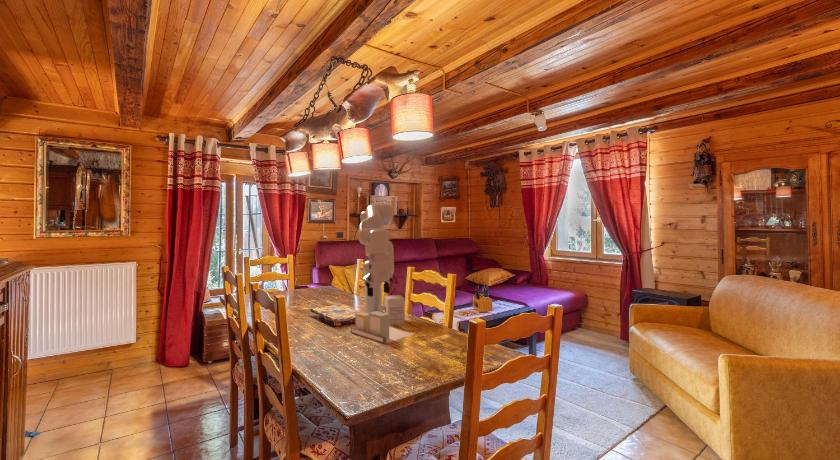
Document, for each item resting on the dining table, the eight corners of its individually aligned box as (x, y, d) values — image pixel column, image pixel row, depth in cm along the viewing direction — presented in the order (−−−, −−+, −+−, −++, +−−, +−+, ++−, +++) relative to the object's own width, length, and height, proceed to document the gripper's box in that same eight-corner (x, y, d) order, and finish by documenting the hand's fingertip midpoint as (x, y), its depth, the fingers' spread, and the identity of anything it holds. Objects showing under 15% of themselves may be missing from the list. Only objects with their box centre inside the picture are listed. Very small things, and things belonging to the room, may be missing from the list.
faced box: (362, 330, 192) (361, 311, 192) (371, 333, 187) (371, 314, 187) (355, 332, 189) (355, 313, 189) (364, 335, 184) (364, 316, 184)
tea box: (376, 334, 186) (376, 310, 185) (389, 338, 179) (389, 314, 179) (368, 336, 182) (368, 312, 182) (381, 340, 176) (381, 316, 176)
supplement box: (384, 323, 209) (383, 295, 208) (400, 322, 211) (400, 294, 211) (387, 328, 200) (387, 299, 199) (405, 326, 203) (404, 297, 202)
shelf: (381, 327, 202) (381, 319, 202) (414, 336, 186) (414, 328, 186) (350, 335, 188) (350, 327, 188) (384, 347, 172) (384, 338, 172)
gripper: (368, 259, 170) (369, 298, 171) (397, 255, 183) (397, 292, 184) (357, 258, 175) (358, 296, 176) (386, 254, 188) (387, 290, 189)
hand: (378, 294), depth 180 cm, fingers open, 9 cm apart
